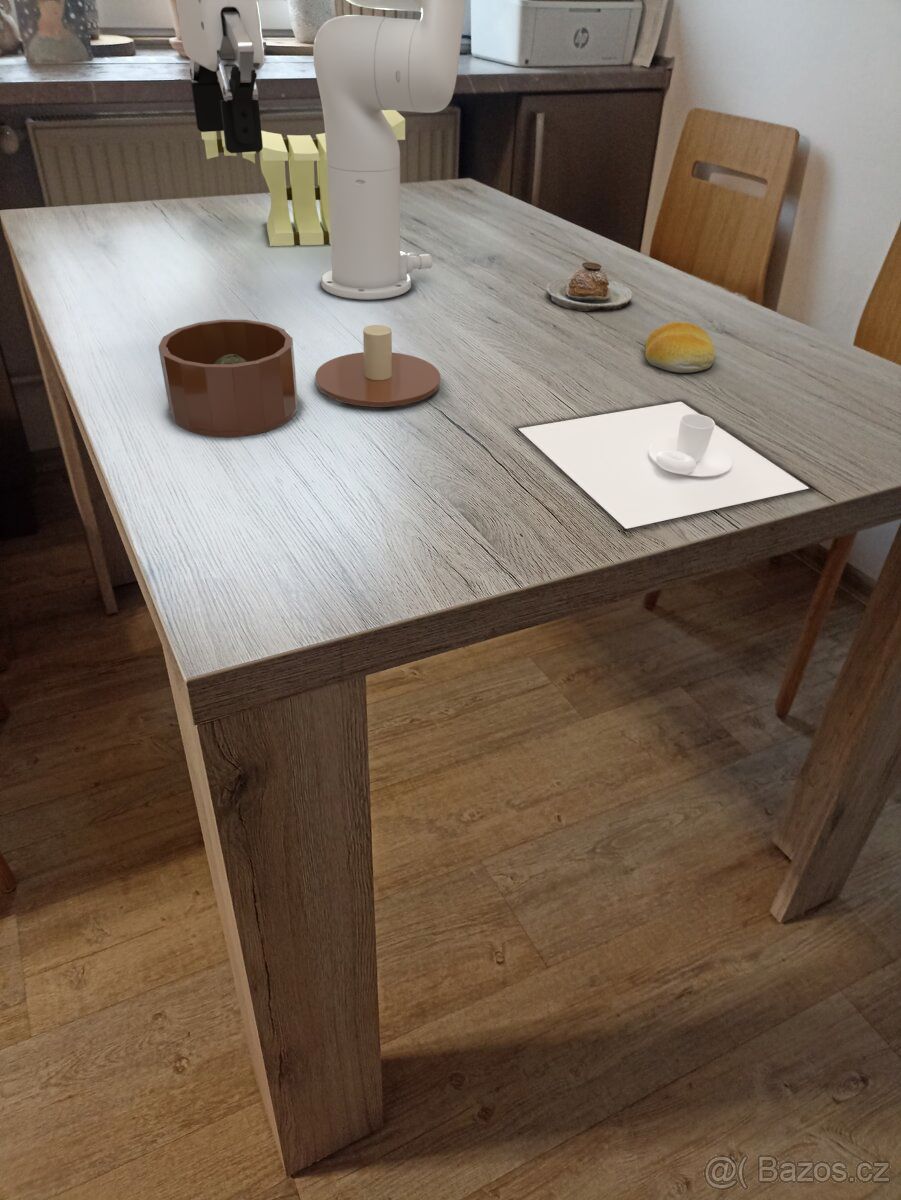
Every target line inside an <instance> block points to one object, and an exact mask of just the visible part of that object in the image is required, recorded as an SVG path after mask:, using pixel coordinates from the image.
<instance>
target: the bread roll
mask: <svg viewBox="0 0 901 1200" xmlns="http://www.w3.org/2000/svg"><path fill="white" fill-rule="evenodd" d="M644 354H645V355H644V356H645V358H646V360H647V362H648V363H649V364H650V365H651V366H653V367H655V368H659V369H661V370H664V371H667V372H671V373H678V374H692V373H697V372H701V371H704V370H707V369H709V368H711V367H712V365H713V364H714V363H715V361H716V358H717V352H716V349H715V345H714V342H713V340H712V338H711V336H709V334H708V333H707V332H706V331H705V330H704V329H703V328H701V327H699V326H698V325H695V324H693V323H689V322H685V321H673V322H669V323H666V324H663V325H661V326H659V327H658V328H656V329H654V330H653V331H652V332H650V333H649V335H648V336H647V338H646V341H645V353H644Z"/></svg>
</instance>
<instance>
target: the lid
mask: <svg viewBox="0 0 901 1200" xmlns="http://www.w3.org/2000/svg"><path fill="white" fill-rule="evenodd" d="M392 332H393V331H392V328H391V327H390V326H387V325H383V324H373V325H368V326H365V327H364V328H363V329H362V337H363V338H362V341H363V343H362V344H363V352H355V353H354V352H353V353H348V354H345V355H340V356H338V357H335V358H332V359H329V360H327V361H326V362H324V363H322V364H321V365H320V366H319V367H318V368H317V370H316V372H315V375H314V378H315V379H314V380H315V386H316V387H317V389H318V390H319V391H320V392H321V393H323V394H324V395H325V396H327V397H329V398H331V399H332V400H335V401H338V402H340V403H345V404H349V405H354V406H360V407H372V408H373V407H374V408H375V407H377V408H383V407H385V408H386V407H396V406H405V405H408V404H409V405H410V404H413V403H417V402H420V401H423V400H425V399H426V398H428V397H431V396H433V395H434V394H435V393H436V392H437V391H438V389H439V388H440V385H441V373H440V371H439V369H438V368H437V367H436V366H435V365H433V364H432V363H431V362H429V361H427V360H424V359H423V358H419V357H417V356H413V355H411V354H410V355H409V354H405V353H399V352H393V343H392V342H393V334H392Z"/></svg>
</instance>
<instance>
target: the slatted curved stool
mask: <svg viewBox="0 0 901 1200" xmlns="http://www.w3.org/2000/svg"><path fill="white" fill-rule="evenodd" d="M381 111H382V112H383V114H384V116H385V118H386V119H387V121H388V123H389V124H390V126H391V128H392V130H393V131H394V133H395V136H396V138H397V141H406V118H405V117H404V116H403V115H401V113H400V112H399V111H397V110H381ZM200 133H201V140H203V141H204V142H203V143H204V148H205V156H206V160H209V159H212V158H217V157H219V153H223V154H224V157H228V156H229V157H237V153H230V152H228V151H227V150H226V146H225V138H224V131H220V136H221V137H220V136H217V131H211V132H201V131H200ZM261 133H262V143H263V148H262V150H261V151H256V152H242V153H241V155H242V159H245V160H248V161H250V162H252V163H253V164H256V158H255V157H256V156H255V155H256V154H257V153H259V165H260V170H261V174H262V176H263V178H264V180H265V183H266V185H267V187H268V191H269V194H270V209H269V215H268V218H267V222H266V231H267V235H268V241H269V242H268V243H269V246H270V247H289V246H291V247H292V246H295V245H298V244H299V246H324V245H325V244H329V245H330V246H331V238H330V217H329V196H328V175H327V156H326V139H325V132H323V133H316V134H315V137H312V136H311V135H310V134H305V135H304V134H303V135H301V134H300V135H298V134H297V135H295V134H286V137H283V135H282V134H281V133H275V132H269V131H265V130H261ZM286 162H288V169H289V183H290V184H289V185H287V180H286V179H287V178H286V176H287V175H286ZM315 162H316V169H317V171H316V172H317V184H315ZM288 201H291V211H292V220H293V224H294V225H293V226H294V228H295V231H294V229H293V226H292V222H291V217H290V211H289V203H288ZM317 201H318V204H319V212H318V208H317ZM318 213H319V214H318ZM319 215H320V217H319Z"/></svg>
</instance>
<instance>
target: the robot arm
mask: <svg viewBox="0 0 901 1200" xmlns="http://www.w3.org/2000/svg"><path fill="white" fill-rule="evenodd" d="M466 1H467V0H346V2H348V3H350V4H351V5H354V6H357V7H363V8H369V9H376V10H377V9H378V10H389V11H390V10H392V11H406V12H419V13H421V17H420V19H417V18H401V17H399V18H398V17H389V16H379V15H378V16H377V15H361V14H347V15H340V16H336V17H332V18H330V19H328V20H327V21H325V22H324V23H323V24H322V25H321V26H320V27H319V29H318V31H317V33H316V34H315V35H316V36H315V38H314V42H313V49H312V50H313V51H312V53H313V66H314V67H313V68H314V73H315V78H316V83H317V87H318V93H319V97H320V103H321V108H322V116H323V125H324V133H325V139H326V156H327V175H328V196H329V217H330V238H331V245H330V257H331V269H329V270H327V271H325V272H324V273H323V274H322V275H321V277H320V283H321V287H322V289H323V290H324V291H325V292H327V293H329V294H332V295H334V296H337V297H341V298H344V299H345V298H346V299H350V300H351V299H353V300H367V301H368V300H383V299H388V298H394V297H398V296H401V295H403V294H404V295H405V293H407V292H408V291H409V290H410V289H411V287H412V278H411V276H410V275H409V274H411V273H412V272H413V271H414V270H419V271H420V270H427V269H431V268H432V267H433V258H432V256H431V254H430V253H426V254H425V253H424V254H418V255H417V254H416V252H414V251H413V252H404V251H402V250H401V150H400V144H399V142H398V141H399V140H397V138H396V136H395V133H394V131H393V130H392V128H391V126H390V124H389V123H388V121H387V119H386V118H385V116H384V114H383V112H382V111H381V110H396V111H397V112H410V113H425V114H426V113H428V114H429V113H438V112H441V111H444V109H446V108H447V107H448V106H449V104H450V103H451V101H452V99H453V96H454V92H455V89H456V84H457V78H458V77H457V76H458V70H459V63H460V53H461V45H462V36H463V28H464V21H465V20H464V19H465V11H466V4H467V3H466ZM175 5H176V13H177V19H178V26H179V27H178V28H179V32H180V38H181V44H182V48H183V51H184V53H185V56H187V58H189V77H190V80H191V82H190V87H191V95H192V100H193V101H192V102H193V107H194V108H193V109H194V115H195V122H196V123H195V124H196V128H197V130H198V131H200V133H201V132H211V131H216V132H221V131H224V138H225V146H226V150H227V151H228V152H230V153H236V154H239V153H241V154H242V152H256V151H261V150H262V148H263V143H262V133H261V131H262V124H261V122H262V121H261V114H260V104H259V103H260V102H259V89H258V86H257V82H256V79H257V78H258V75H257V72H256V71H259V70H261V69H262V68H263V66H264V64H265V62H266V61H265V59H266V58H265V50H264V41H263V34H262V25H261V18H260V9H259V2H258V0H175ZM229 75H230V79H229Z"/></svg>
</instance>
